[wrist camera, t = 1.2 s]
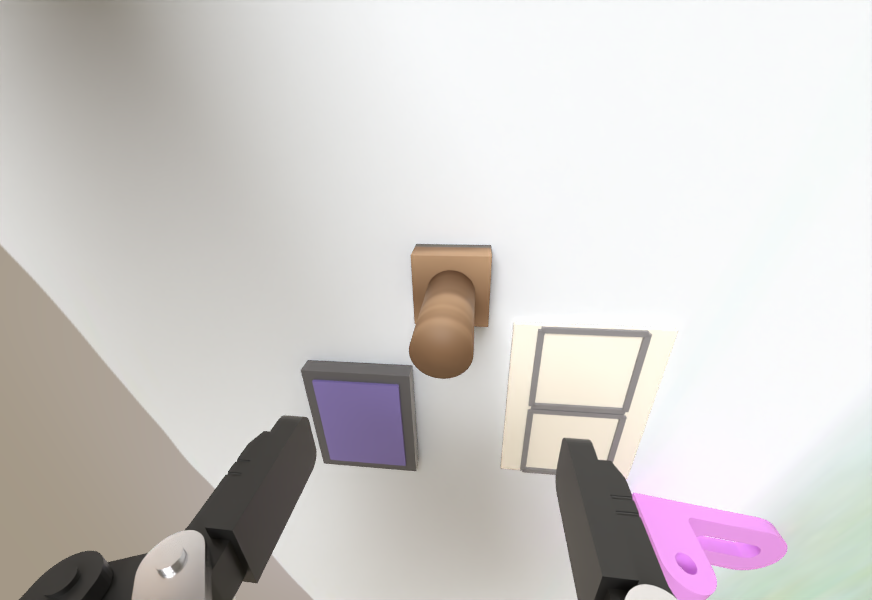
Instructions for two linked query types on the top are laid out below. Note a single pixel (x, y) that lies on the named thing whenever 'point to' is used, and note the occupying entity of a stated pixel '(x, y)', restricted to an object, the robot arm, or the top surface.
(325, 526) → the top surface
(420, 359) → the stamp
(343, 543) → the top surface
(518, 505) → the top surface
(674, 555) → the bracket
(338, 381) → the ink pad
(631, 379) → the sheet
